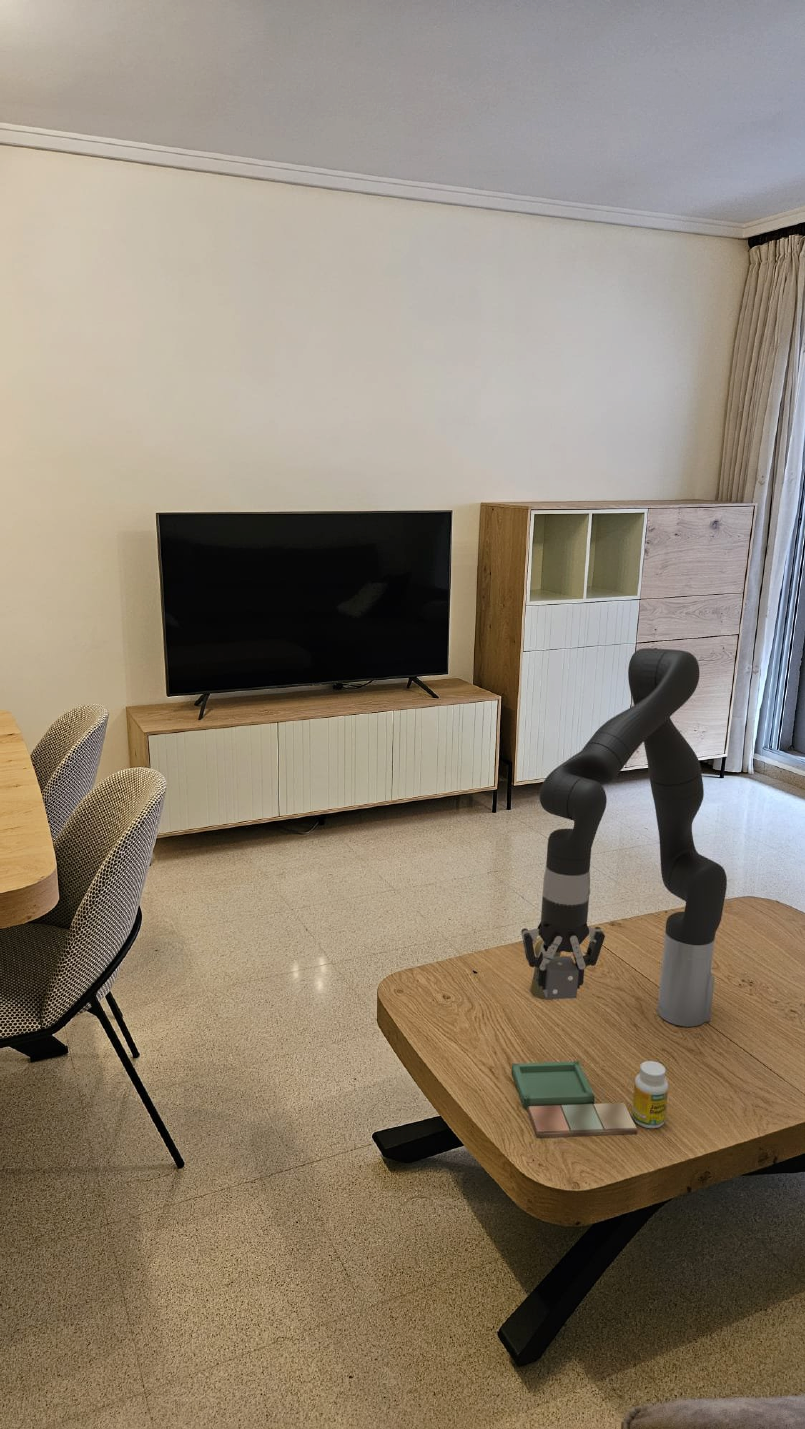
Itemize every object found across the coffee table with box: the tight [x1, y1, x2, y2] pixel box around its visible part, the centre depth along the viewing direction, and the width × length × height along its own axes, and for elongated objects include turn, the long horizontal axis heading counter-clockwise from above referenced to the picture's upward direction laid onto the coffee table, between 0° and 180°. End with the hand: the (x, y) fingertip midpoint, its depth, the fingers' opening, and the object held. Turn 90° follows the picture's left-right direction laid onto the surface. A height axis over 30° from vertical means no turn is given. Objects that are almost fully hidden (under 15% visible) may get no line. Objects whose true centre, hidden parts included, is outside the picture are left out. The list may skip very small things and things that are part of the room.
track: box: [526, 1102, 639, 1139], centre depth 161 cm, size 16×7×1 cm, turn 95°
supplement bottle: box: [631, 1060, 669, 1129], centre depth 161 cm, size 5×5×10 cm
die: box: [543, 955, 579, 1000], centre depth 164 cm, size 5×5×5 cm
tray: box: [511, 1060, 596, 1109], centre depth 169 cm, size 12×10×2 cm
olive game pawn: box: [529, 939, 562, 1001], centre depth 200 cm, size 6×6×11 cm
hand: (559, 986), depth 165 cm, fingers closed on die, 5 cm apart
